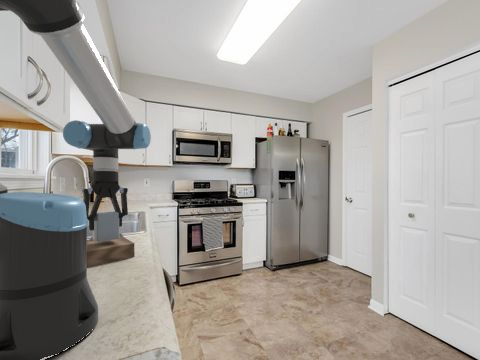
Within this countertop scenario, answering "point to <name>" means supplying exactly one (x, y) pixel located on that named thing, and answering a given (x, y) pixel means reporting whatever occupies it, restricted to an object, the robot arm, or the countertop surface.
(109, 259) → the walnut block
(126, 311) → the countertop surface
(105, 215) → the slate block
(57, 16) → the robot arm
